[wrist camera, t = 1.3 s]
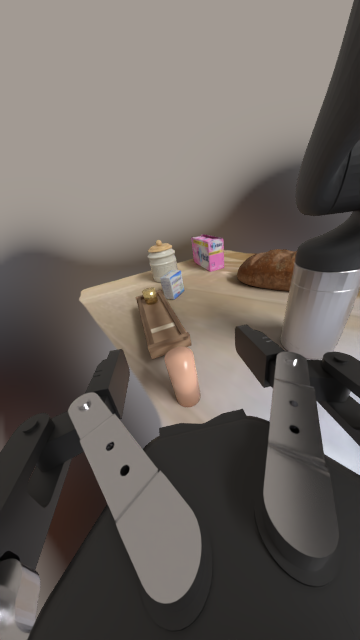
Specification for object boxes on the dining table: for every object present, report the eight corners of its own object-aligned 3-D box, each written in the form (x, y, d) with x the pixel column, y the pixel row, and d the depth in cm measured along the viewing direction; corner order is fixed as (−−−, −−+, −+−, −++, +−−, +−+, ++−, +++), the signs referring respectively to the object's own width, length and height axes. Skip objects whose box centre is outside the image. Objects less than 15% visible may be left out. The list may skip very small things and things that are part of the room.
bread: (246, 272, 76) (247, 244, 69) (333, 278, 58) (345, 242, 52) (230, 287, 66) (230, 256, 60) (328, 299, 49) (341, 258, 43)
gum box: (192, 261, 103) (189, 236, 96) (205, 258, 104) (202, 233, 97) (210, 272, 83) (207, 241, 76) (224, 267, 85) (223, 237, 77)
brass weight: (156, 297, 57) (153, 286, 55) (159, 302, 54) (156, 290, 52) (144, 301, 56) (141, 289, 54) (146, 306, 53) (142, 294, 51)
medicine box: (174, 300, 65) (169, 278, 60) (164, 298, 67) (159, 277, 62) (184, 290, 70) (181, 270, 65) (175, 290, 72) (171, 269, 68)
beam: (165, 304, 63) (161, 289, 60) (193, 354, 40) (189, 334, 36) (140, 312, 61) (135, 297, 58) (155, 368, 38) (148, 348, 35)
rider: (195, 381, 34) (187, 343, 28) (204, 401, 30) (197, 361, 25) (173, 390, 33) (161, 352, 28) (180, 411, 29) (168, 372, 24)
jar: (183, 273, 89) (177, 235, 79) (171, 283, 80) (162, 242, 70) (162, 273, 95) (154, 238, 85) (148, 282, 86) (138, 245, 76)
